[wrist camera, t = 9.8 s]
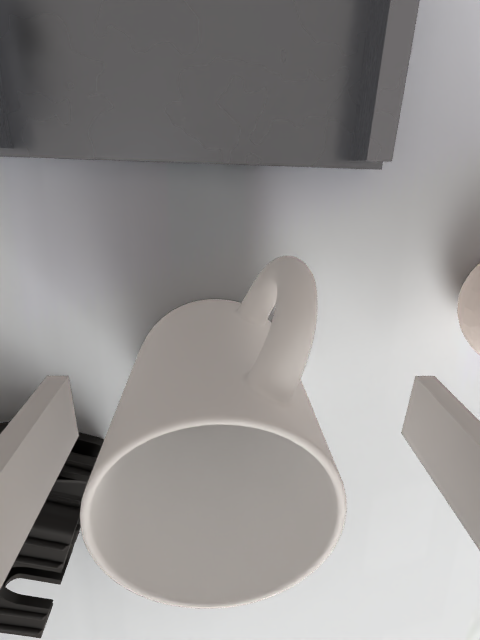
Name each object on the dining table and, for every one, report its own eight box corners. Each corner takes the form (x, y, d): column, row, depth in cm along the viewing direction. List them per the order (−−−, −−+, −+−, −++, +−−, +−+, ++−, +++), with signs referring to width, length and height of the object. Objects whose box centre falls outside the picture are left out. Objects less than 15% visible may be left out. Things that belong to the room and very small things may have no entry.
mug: (204, 198, 18) (193, 239, 8) (349, 270, 20) (479, 371, 10) (119, 395, 21) (45, 579, 12) (247, 440, 23) (271, 629, 14)
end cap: (-15, 401, 21) (-110, 500, 15) (110, 432, 23) (72, 535, 16) (-35, 522, 25) (-119, 644, 18) (75, 543, 26) (31, 663, 20)
